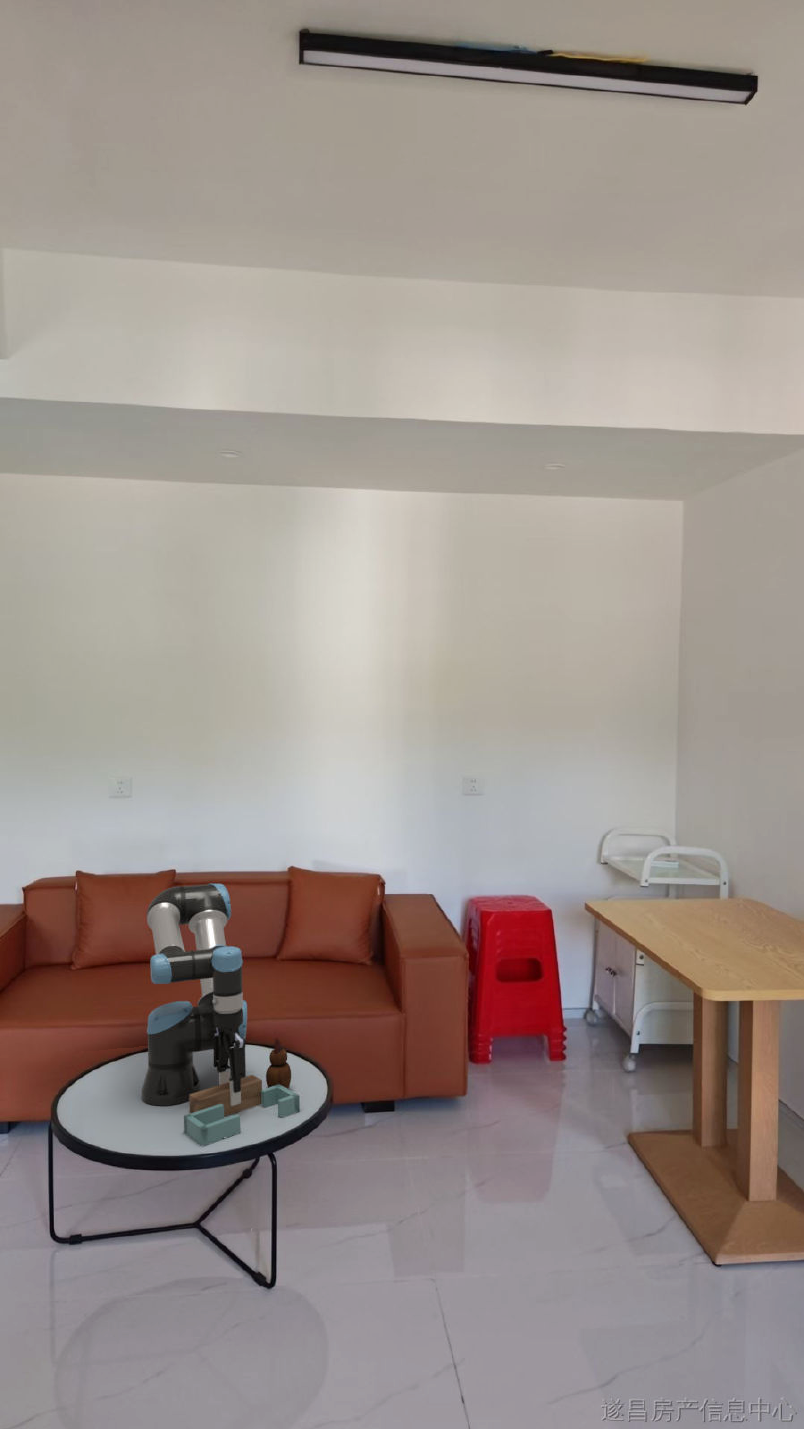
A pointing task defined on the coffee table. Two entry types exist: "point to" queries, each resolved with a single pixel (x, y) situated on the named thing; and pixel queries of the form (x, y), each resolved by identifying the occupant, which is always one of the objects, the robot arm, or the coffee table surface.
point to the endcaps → (235, 1116)
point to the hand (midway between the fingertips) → (230, 1100)
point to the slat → (228, 1096)
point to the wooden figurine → (278, 1067)
